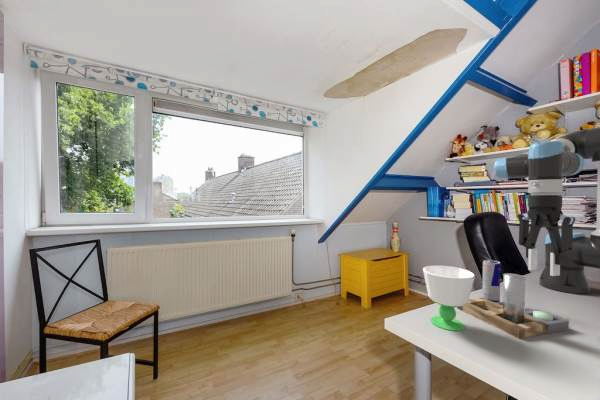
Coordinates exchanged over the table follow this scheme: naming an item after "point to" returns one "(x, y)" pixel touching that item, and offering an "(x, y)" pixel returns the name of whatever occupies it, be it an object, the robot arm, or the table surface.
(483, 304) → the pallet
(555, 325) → the button housing
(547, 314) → the button
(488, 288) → the beverage can
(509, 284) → the billet
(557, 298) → the table surface
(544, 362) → the table surface
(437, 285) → the cup
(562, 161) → the robot arm
